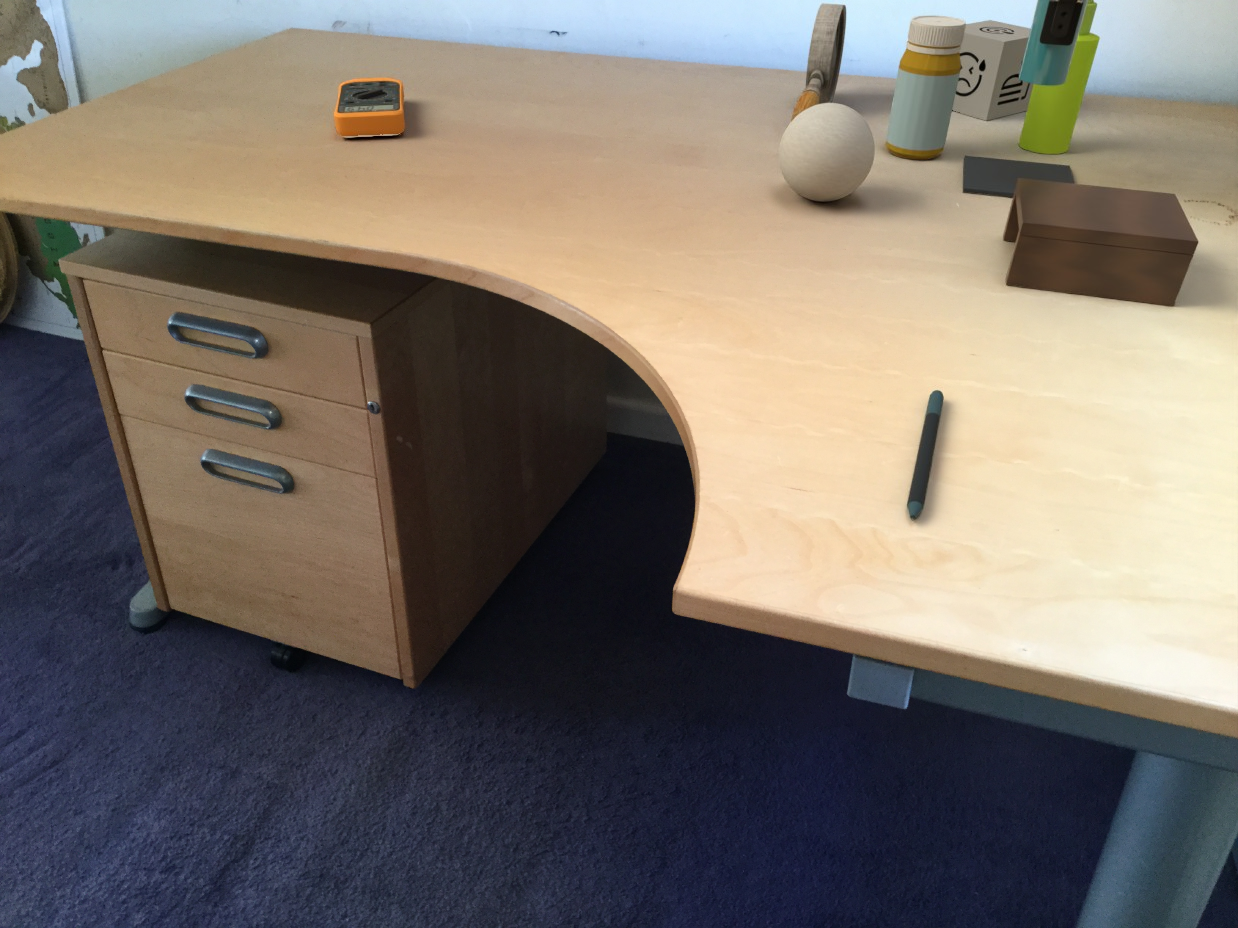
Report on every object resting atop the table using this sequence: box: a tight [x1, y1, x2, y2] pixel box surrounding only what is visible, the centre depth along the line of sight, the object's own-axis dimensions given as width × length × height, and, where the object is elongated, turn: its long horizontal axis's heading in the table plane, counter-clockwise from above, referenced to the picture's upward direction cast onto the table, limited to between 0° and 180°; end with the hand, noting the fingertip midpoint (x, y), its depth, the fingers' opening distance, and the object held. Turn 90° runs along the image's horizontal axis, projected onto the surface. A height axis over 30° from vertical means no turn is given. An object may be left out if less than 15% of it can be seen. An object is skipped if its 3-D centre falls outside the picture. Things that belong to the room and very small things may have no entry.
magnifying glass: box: [789, 3, 847, 124], centre depth 126 cm, size 13×3×25 cm
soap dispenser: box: [1018, 0, 1101, 155], centre depth 112 cm, size 6×7×20 cm
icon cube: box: [952, 19, 1034, 122], centre depth 130 cm, size 10×10×10 cm
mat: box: [962, 154, 1075, 198], centre depth 108 cm, size 12×12×1 cm
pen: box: [906, 389, 945, 522], centre depth 63 cm, size 1×16×1 cm, turn 159°
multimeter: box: [333, 77, 406, 137], centre depth 125 cm, size 9×18×3 cm, turn 11°
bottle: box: [885, 14, 967, 161], centre depth 112 cm, size 7×7×15 cm
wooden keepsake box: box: [1002, 178, 1200, 307], centre depth 87 cm, size 14×12×6 cm
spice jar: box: [1019, 0, 1088, 86], centre depth 99 cm, size 5×5×10 cm
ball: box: [778, 102, 876, 202], centre depth 100 cm, size 10×10×10 cm
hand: (1053, 36), depth 99 cm, fingers closed on spice jar, 4 cm apart
